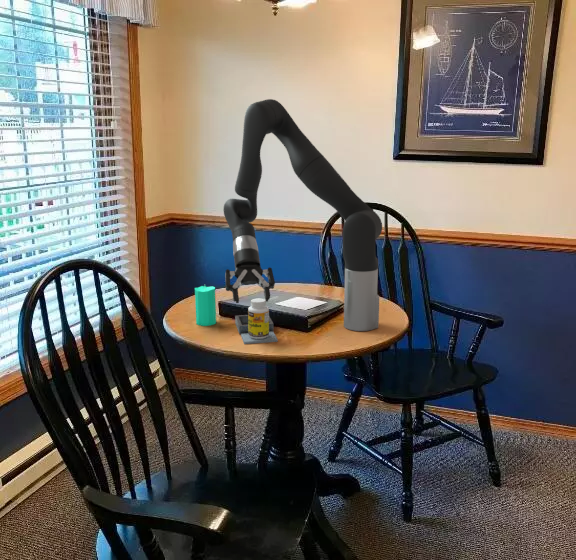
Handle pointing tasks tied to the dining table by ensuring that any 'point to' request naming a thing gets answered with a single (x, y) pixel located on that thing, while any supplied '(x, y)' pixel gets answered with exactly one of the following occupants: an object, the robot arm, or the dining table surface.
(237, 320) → the iron collar
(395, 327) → the dining table surface
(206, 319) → the candle
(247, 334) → the slate mat
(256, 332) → the supplement bottle
